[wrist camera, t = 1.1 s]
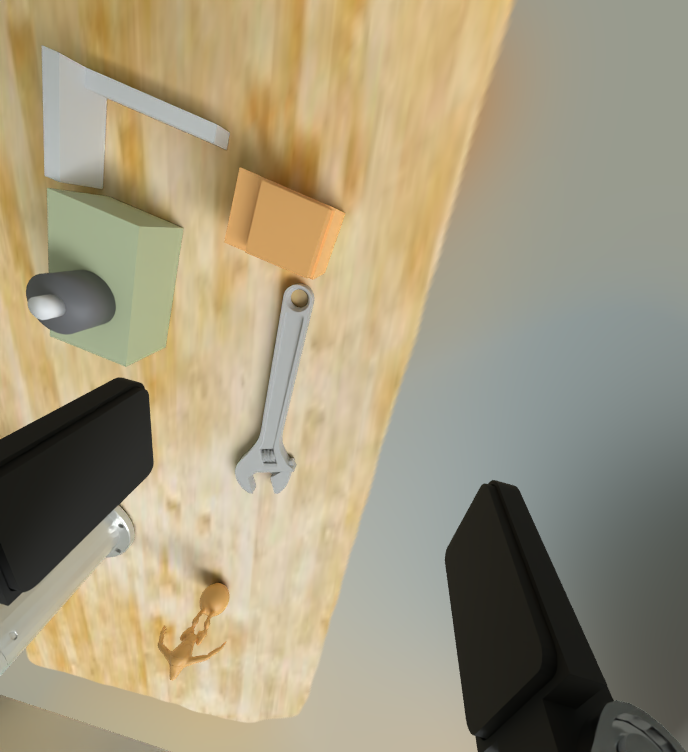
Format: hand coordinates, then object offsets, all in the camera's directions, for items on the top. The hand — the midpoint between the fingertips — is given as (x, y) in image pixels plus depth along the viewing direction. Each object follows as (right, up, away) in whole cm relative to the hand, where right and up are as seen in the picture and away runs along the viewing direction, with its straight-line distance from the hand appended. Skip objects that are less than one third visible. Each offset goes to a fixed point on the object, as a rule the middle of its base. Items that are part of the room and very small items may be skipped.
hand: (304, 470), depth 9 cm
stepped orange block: (-3, +15, +18) cm, 24 cm away
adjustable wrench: (-5, 0, +26) cm, 26 cm away
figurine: (-17, -28, +39) cm, 51 cm away
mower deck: (-17, +15, +20) cm, 30 cm away
